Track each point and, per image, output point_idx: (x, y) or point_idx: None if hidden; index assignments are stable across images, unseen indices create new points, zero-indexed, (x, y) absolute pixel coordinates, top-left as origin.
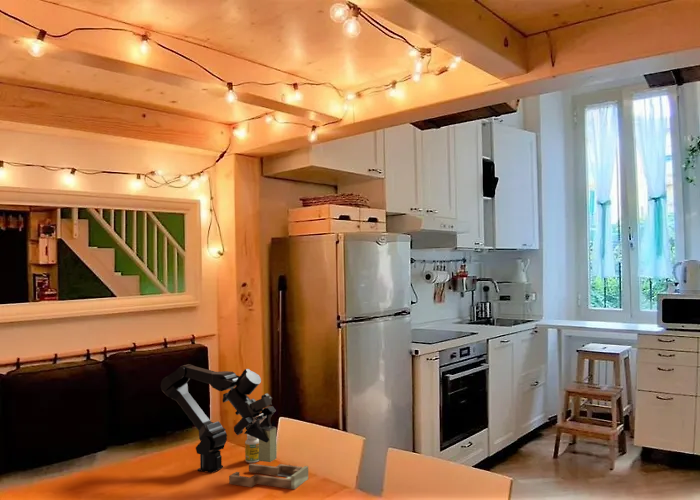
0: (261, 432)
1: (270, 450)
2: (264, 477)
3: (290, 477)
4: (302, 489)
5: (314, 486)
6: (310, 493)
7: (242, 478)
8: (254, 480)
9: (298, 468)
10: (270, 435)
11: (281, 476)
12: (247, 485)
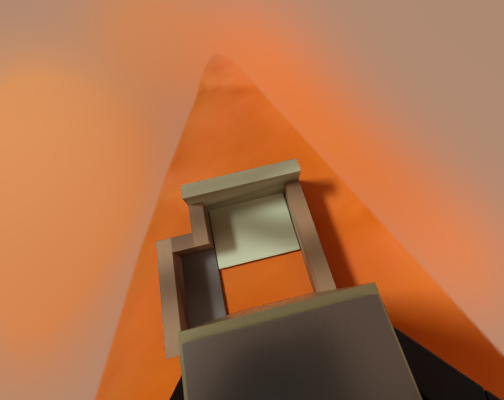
0: (491, 397)
1: (312, 293)
2: None
3: (221, 256)
4: (276, 162)
5: (237, 150)
6: (286, 129)
7: None
8: None
9: (179, 241)
10: (341, 288)
11: (223, 301)
12: None
